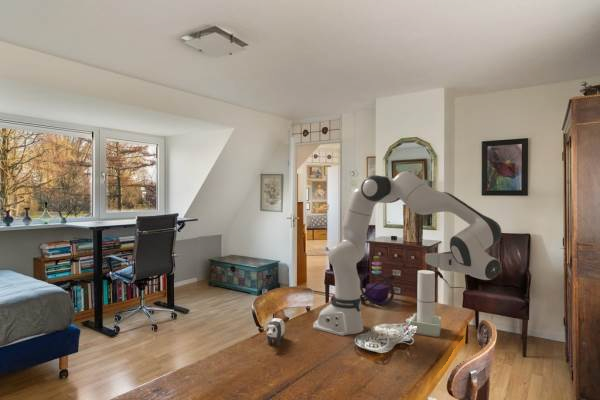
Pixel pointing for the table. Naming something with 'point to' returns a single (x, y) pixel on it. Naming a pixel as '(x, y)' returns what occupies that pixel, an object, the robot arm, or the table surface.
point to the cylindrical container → (426, 296)
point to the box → (427, 326)
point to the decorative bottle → (377, 286)
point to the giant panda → (275, 331)
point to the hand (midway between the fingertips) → (438, 254)
